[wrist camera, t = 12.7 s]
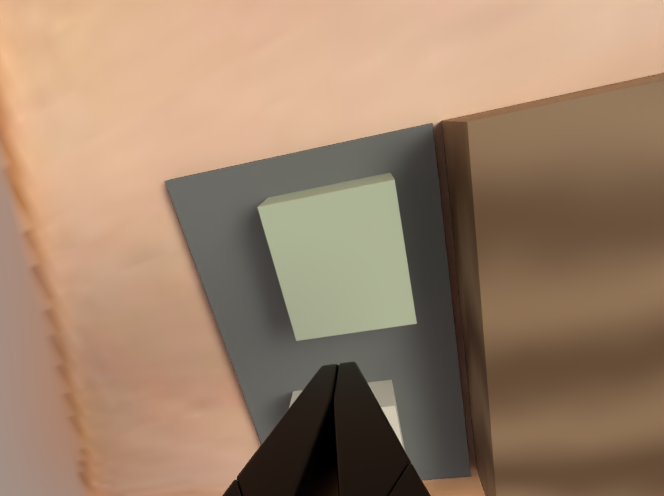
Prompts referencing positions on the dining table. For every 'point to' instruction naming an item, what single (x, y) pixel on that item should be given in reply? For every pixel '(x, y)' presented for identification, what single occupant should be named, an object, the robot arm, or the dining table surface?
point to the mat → (362, 347)
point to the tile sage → (340, 257)
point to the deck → (563, 289)
